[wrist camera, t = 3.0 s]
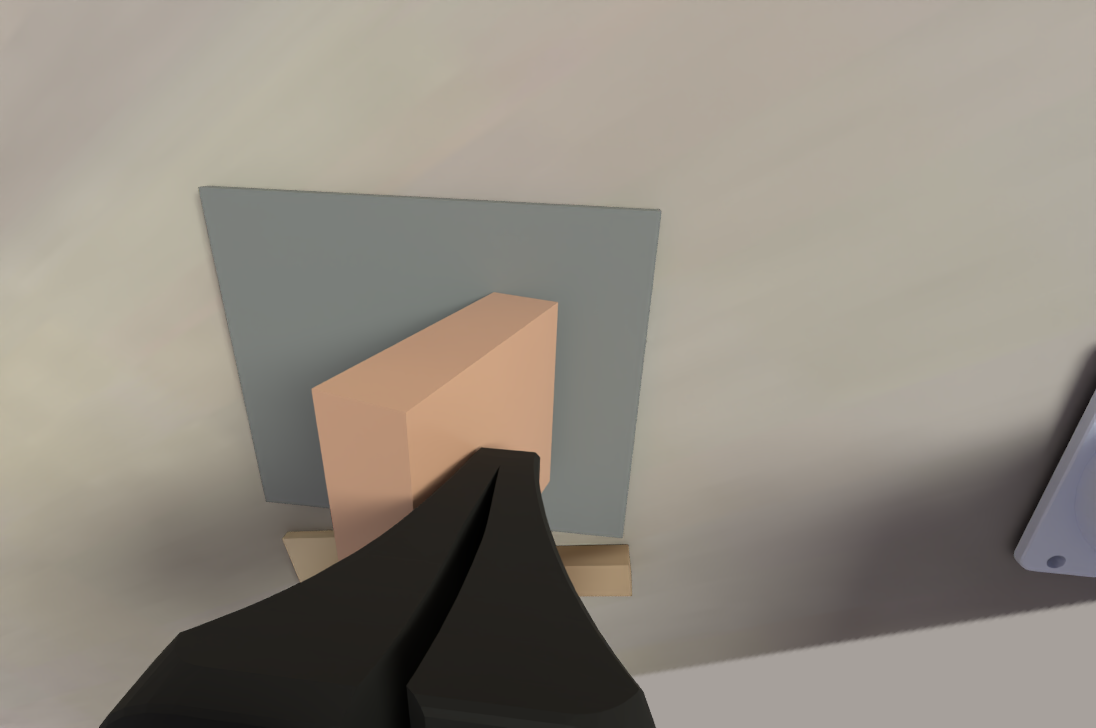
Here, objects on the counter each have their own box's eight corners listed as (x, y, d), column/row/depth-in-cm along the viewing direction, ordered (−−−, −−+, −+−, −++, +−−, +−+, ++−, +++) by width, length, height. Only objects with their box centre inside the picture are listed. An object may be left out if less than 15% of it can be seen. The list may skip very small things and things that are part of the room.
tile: (558, 302, 15) (405, 412, 9) (549, 480, 17) (425, 663, 11) (489, 291, 16) (304, 386, 10) (490, 464, 18) (343, 627, 12)
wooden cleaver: (626, 519, 19) (626, 539, 18) (633, 596, 20) (634, 618, 19) (289, 529, 21) (274, 548, 20) (317, 598, 22) (304, 618, 21)
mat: (660, 209, 14) (661, 211, 14) (622, 530, 19) (622, 538, 19) (208, 185, 16) (198, 187, 15) (272, 494, 20) (266, 501, 20)
